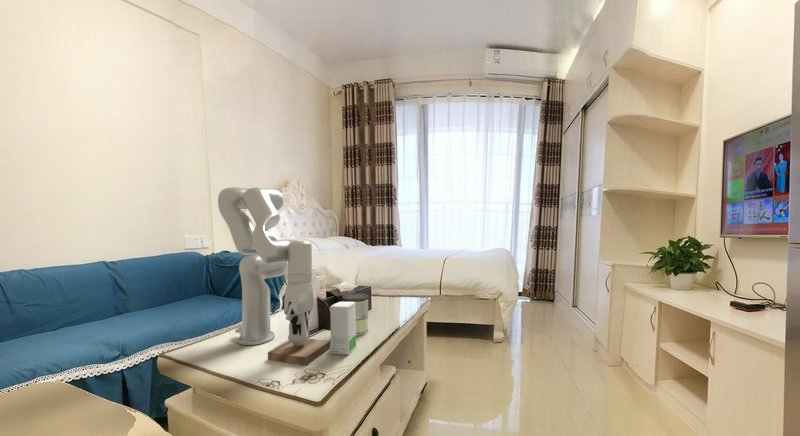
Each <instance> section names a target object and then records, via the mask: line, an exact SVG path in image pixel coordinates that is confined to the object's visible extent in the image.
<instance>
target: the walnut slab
mask: <svg viewBox="0 0 800 436" xmlns="http://www.w3.org/2000/svg"><path fill="white" fill-rule="evenodd" d="M329 350H331V340H324V339H315V338H309V337H308V338H307V340H306V343H305V344H304V345H301V346H293V344H292V342H291V340H289V339H288V341H285V342H283V343H282V344H280V345H278V346H277V347H275V348H273V349H271V350H270V351H267V361H271V362H277V363H284V364H292V365H298V366H305V367H307V366H308V365H310V364H311V363H313V362H314V361H315V360H317V359H318V358H319V357H320V356H322V355H323V354H324V353H326V352H327V351H329Z"/></svg>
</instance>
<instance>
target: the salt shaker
mask: <svg viewBox="0 0 800 436" xmlns="http://www.w3.org/2000/svg"><path fill="white" fill-rule="evenodd" d="M294 317H295V316H294ZM295 318H296V319H297V317H295ZM300 324H301V336H300V335H299V330H298V333H297V334H296V335H294V334H293V328H291V333H290V340H291V342H292V344H293V346H301V345H304V344H305V343H306V340H307V338H308V339H309V336H308V331H307V325H306V319H305V313H302V314H300Z"/></svg>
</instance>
